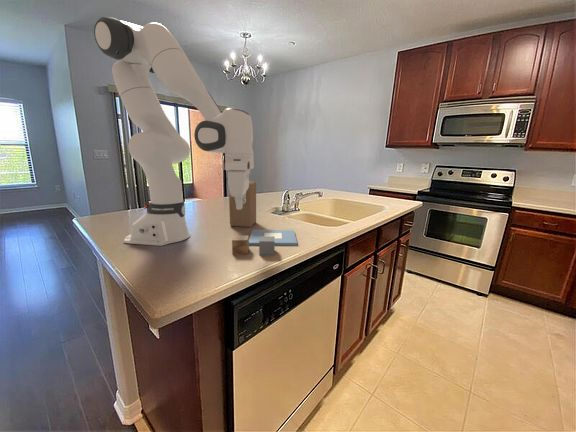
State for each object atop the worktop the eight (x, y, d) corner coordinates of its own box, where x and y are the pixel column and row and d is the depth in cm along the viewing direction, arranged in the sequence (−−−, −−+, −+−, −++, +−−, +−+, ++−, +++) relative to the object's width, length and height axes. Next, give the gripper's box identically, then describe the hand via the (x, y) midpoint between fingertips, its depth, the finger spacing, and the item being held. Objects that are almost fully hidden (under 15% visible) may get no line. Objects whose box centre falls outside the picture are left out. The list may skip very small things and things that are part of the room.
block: (249, 228, 114) (249, 183, 109) (229, 226, 116) (227, 182, 111) (256, 222, 124) (256, 181, 119) (237, 220, 126) (236, 180, 121)
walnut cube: (232, 254, 85) (231, 240, 83) (234, 248, 89) (234, 235, 88) (247, 254, 85) (247, 240, 84) (248, 248, 90) (248, 235, 89)
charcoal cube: (259, 255, 84) (259, 241, 83) (260, 250, 89) (260, 236, 88) (274, 255, 84) (274, 241, 83) (274, 250, 89) (274, 236, 88)
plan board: (248, 245, 93) (248, 242, 93) (252, 232, 109) (251, 229, 108) (297, 245, 94) (297, 242, 94) (293, 232, 110) (293, 229, 109)
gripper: (234, 162, 90) (236, 200, 93) (223, 164, 70) (226, 213, 74) (252, 162, 91) (253, 200, 94) (246, 164, 71) (248, 212, 74)
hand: (241, 206), depth 84 cm, fingers open, 8 cm apart
